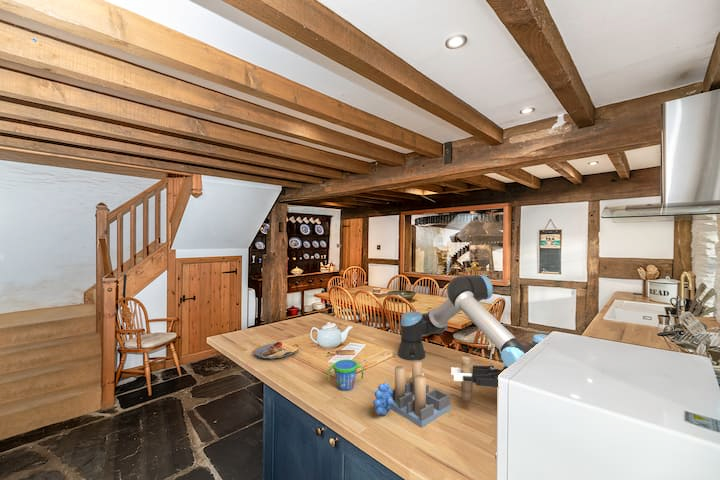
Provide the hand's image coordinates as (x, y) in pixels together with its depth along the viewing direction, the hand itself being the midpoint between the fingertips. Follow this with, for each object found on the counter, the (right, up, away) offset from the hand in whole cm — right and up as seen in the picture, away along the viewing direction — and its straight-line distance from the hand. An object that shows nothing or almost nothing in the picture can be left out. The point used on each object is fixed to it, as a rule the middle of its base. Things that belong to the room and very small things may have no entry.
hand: (452, 373), depth 115 cm
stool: (-13, -14, +2) cm, 19 cm away
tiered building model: (-10, -14, +19) cm, 26 cm away
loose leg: (+5, -9, 0) cm, 10 cm away
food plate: (-83, -14, +58) cm, 102 cm away
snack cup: (-41, -14, +18) cm, 47 cm away
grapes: (-26, -14, -3) cm, 30 cm away
